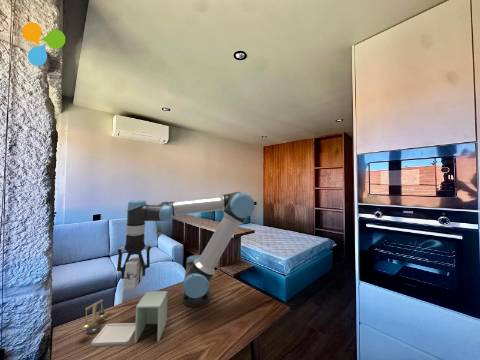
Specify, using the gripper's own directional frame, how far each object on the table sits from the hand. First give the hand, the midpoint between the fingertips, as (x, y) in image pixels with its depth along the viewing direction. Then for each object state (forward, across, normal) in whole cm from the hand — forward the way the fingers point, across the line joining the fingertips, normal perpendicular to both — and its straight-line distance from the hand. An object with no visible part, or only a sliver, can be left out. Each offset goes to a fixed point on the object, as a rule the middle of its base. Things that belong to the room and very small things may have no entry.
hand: (133, 284), depth 93 cm
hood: (+16, -9, +12) cm, 22 cm away
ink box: (+1, 0, 0) cm, 1 cm away
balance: (+16, +14, +2) cm, 22 cm away
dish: (+16, +5, +8) cm, 19 cm away
